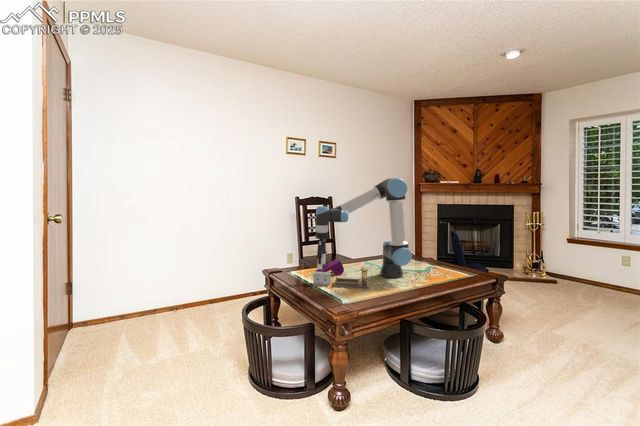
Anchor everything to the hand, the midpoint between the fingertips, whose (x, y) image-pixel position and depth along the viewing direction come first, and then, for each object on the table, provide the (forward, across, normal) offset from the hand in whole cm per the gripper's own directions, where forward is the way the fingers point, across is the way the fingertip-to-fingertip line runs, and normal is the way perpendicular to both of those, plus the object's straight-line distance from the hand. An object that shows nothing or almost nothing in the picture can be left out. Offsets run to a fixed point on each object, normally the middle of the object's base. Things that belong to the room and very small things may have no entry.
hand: (321, 266), depth 200 cm
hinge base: (+10, -1, +18) cm, 21 cm away
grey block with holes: (+11, 0, 0) cm, 11 cm away
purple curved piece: (+11, -25, +2) cm, 27 cm away
